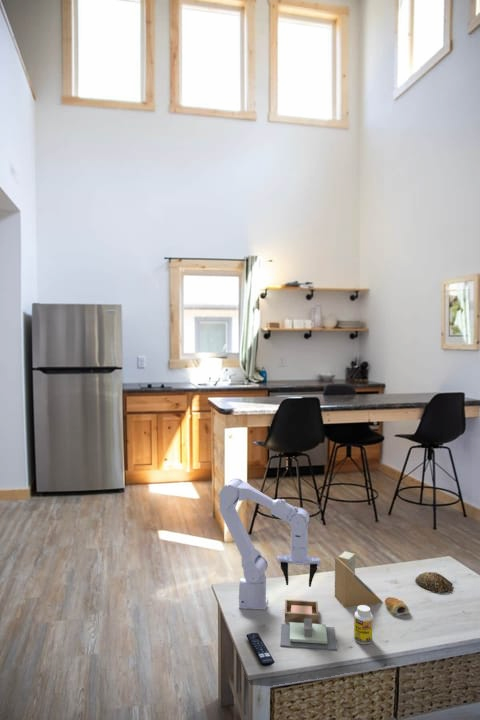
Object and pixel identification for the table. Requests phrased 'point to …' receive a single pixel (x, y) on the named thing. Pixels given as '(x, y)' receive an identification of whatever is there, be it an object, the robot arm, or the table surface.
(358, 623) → the supplement bottle
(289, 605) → the walnut box
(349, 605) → the sandwich container
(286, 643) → the slate mat
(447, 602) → the table surface
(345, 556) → the skincare box
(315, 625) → the lid
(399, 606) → the pastry
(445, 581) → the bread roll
